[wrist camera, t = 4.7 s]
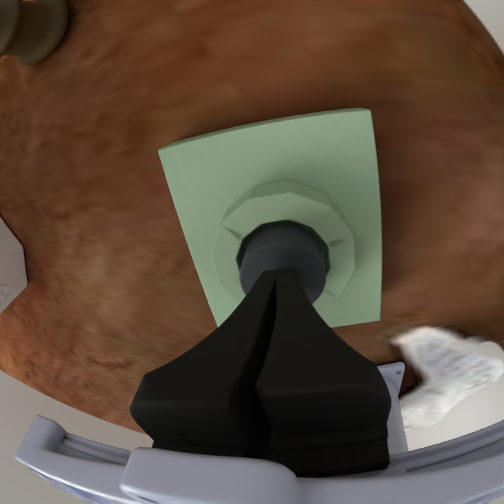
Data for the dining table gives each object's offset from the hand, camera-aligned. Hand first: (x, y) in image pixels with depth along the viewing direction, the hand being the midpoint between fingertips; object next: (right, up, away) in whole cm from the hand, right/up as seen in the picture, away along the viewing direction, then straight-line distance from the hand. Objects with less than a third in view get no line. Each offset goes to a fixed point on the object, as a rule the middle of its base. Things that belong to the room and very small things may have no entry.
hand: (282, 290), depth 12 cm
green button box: (+1, +3, +5) cm, 6 cm away
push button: (0, +1, +2) cm, 2 cm away
